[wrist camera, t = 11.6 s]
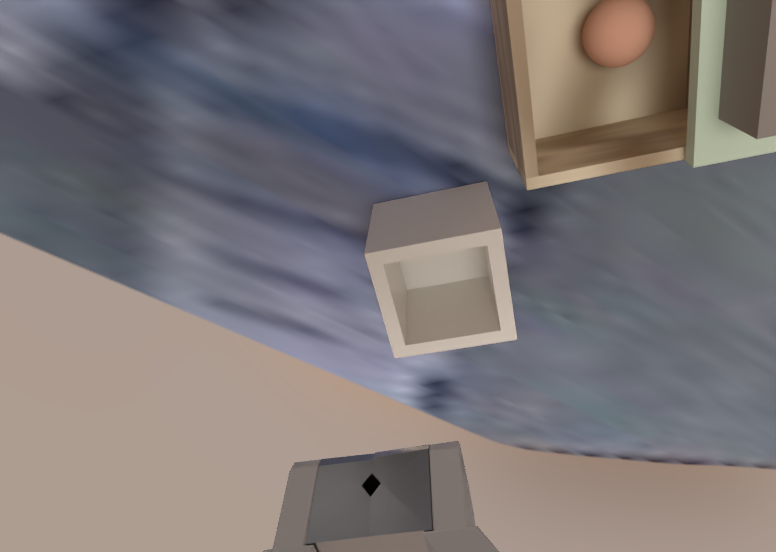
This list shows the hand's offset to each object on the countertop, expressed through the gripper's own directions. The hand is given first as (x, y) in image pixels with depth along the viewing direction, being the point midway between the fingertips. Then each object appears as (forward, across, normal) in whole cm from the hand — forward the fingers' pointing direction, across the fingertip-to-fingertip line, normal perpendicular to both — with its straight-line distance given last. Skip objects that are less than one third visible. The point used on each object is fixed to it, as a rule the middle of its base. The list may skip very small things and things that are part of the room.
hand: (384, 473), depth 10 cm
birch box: (+24, -11, -2) cm, 26 cm away
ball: (+23, -11, -2) cm, 26 cm away
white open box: (+24, -1, +8) cm, 25 cm away
